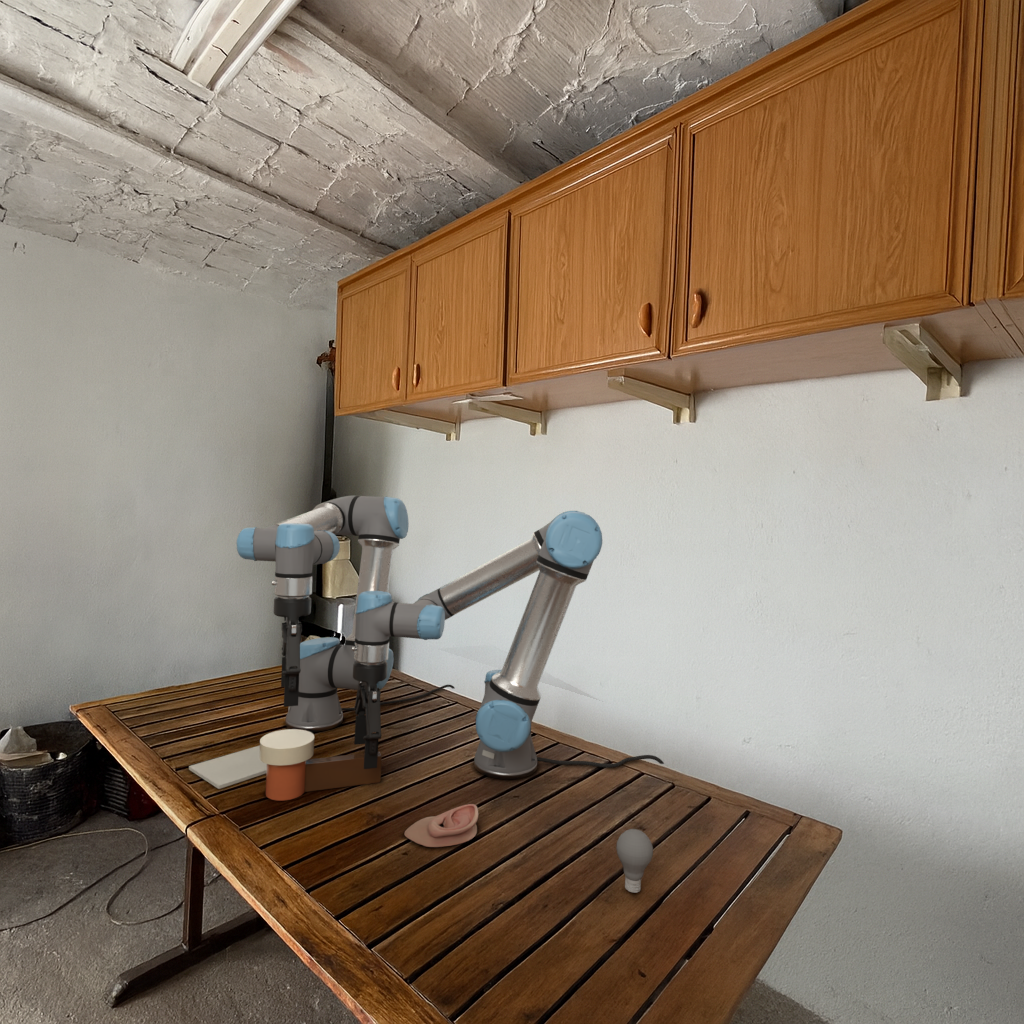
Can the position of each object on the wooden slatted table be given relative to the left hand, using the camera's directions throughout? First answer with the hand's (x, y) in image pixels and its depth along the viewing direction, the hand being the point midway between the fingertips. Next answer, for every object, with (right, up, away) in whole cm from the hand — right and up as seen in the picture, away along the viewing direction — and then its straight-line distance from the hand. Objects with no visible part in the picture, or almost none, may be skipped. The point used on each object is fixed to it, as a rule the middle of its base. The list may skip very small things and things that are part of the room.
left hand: (289, 695), depth 135 cm
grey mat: (-14, -20, +12) cm, 27 cm away
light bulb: (+68, -24, -29) cm, 78 cm away
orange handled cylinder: (+7, -21, +3) cm, 22 cm away
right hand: (+15, -15, +7) cm, 22 cm away
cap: (-1, -13, 0) cm, 13 cm away
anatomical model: (+34, -23, -14) cm, 43 cm away
